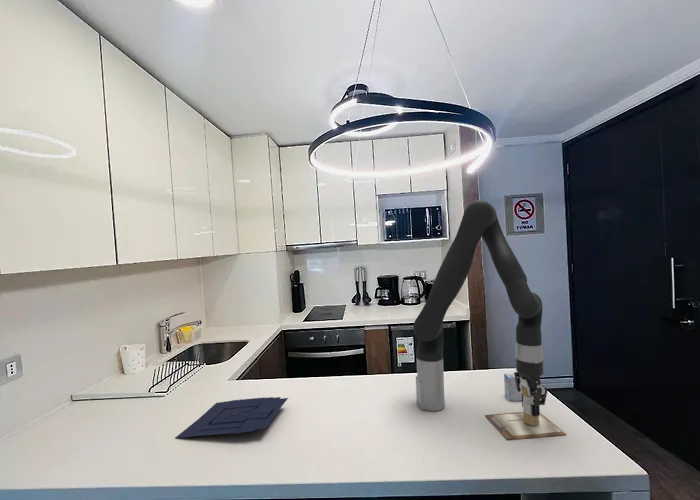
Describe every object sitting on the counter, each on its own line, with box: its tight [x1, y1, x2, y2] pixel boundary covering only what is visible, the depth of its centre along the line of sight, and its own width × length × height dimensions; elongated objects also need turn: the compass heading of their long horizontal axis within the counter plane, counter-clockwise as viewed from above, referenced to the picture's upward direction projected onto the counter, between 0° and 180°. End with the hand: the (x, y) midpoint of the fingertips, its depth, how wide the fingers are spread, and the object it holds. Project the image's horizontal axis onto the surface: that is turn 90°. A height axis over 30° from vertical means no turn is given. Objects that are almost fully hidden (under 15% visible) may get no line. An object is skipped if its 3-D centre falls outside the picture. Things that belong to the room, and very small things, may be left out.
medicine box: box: [503, 372, 522, 402], centre depth 125 cm, size 8×4×9 cm, turn 84°
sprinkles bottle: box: [522, 379, 539, 425], centre depth 107 cm, size 5×5×13 cm
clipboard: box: [484, 411, 567, 441], centre depth 108 cm, size 18×14×2 cm
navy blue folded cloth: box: [175, 396, 289, 439], centre depth 118 cm, size 24×30×4 cm
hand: (530, 411), depth 107 cm, fingers closed on sprinkles bottle, 4 cm apart
